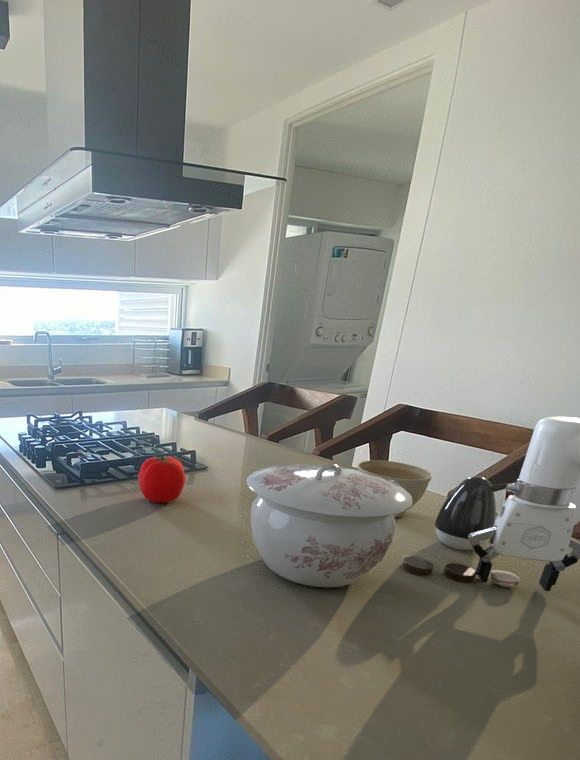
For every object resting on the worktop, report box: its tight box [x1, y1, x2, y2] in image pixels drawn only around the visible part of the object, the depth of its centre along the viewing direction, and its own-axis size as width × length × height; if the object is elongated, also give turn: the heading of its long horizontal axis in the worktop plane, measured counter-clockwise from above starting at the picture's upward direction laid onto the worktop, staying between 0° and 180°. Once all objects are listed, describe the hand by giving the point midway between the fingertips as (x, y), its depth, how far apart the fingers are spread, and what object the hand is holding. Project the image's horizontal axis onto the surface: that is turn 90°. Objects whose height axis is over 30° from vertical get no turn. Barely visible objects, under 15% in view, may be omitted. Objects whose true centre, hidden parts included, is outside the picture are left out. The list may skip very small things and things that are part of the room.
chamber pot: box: [246, 463, 413, 589], centre depth 88 cm, size 28×28×21 cm
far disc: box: [401, 556, 434, 577], centre depth 93 cm, size 5×5×2 cm
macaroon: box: [490, 569, 521, 588], centre depth 88 cm, size 4×5×2 cm
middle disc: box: [442, 562, 477, 584], centre depth 91 cm, size 5×5×2 cm
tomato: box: [137, 454, 187, 504], centre depth 124 cm, size 12×13×12 cm
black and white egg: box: [434, 475, 508, 551], centre depth 101 cm, size 10×10×15 cm
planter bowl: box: [357, 460, 433, 518], centre depth 119 cm, size 16×16×11 cm
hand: (512, 583), depth 88 cm, fingers open, 9 cm apart
